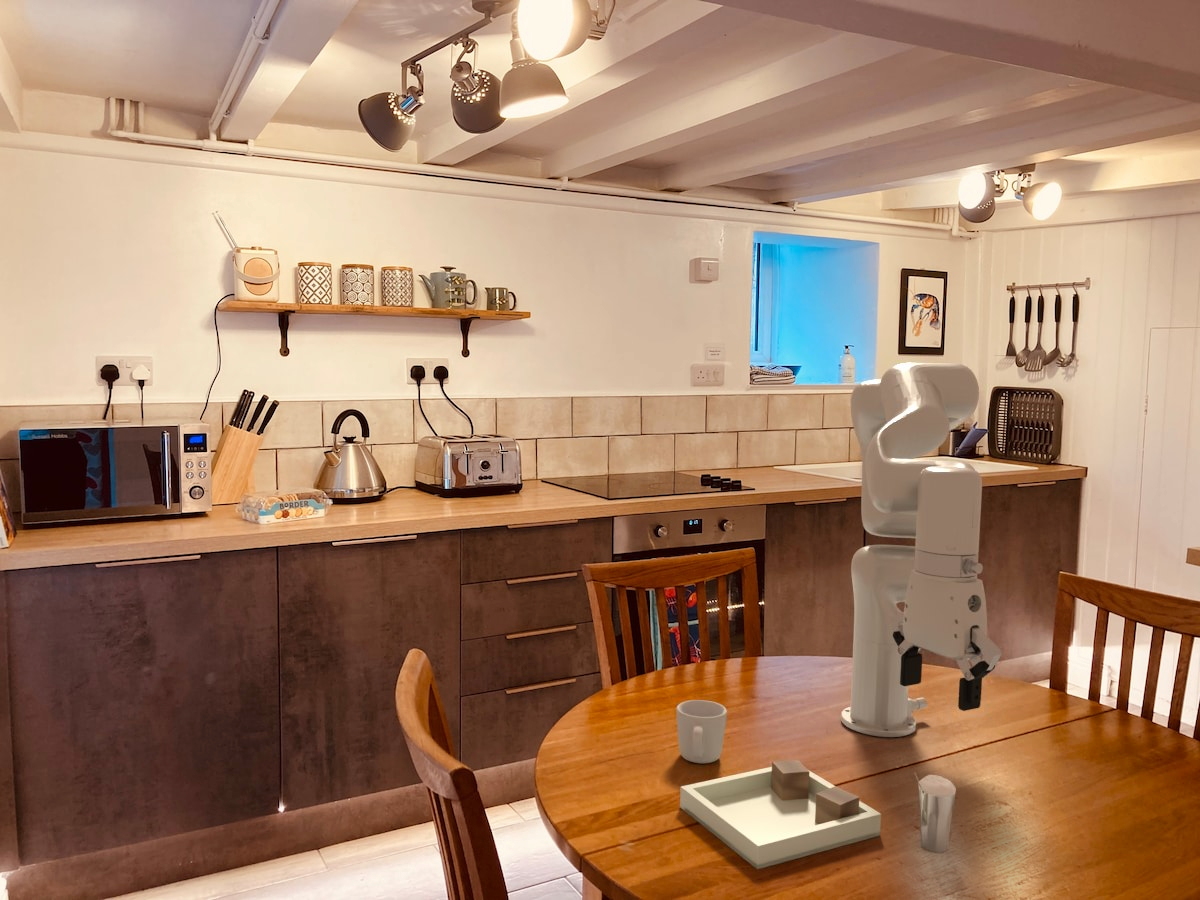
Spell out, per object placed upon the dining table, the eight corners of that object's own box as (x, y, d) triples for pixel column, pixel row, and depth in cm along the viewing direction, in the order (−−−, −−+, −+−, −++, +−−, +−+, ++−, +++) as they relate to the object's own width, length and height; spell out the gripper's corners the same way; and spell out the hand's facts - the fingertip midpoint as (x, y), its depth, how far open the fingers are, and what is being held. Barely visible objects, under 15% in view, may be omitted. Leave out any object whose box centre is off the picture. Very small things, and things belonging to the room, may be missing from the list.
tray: (793, 781, 141) (794, 761, 140) (880, 835, 125) (881, 813, 125) (680, 807, 132) (680, 786, 131) (757, 869, 116) (758, 846, 115)
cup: (722, 778, 141) (724, 726, 141) (669, 772, 143) (671, 721, 142) (727, 750, 152) (728, 701, 151) (678, 745, 153) (679, 697, 153)
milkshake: (903, 838, 124) (907, 765, 123) (942, 837, 125) (946, 764, 124) (918, 856, 120) (922, 780, 119) (958, 855, 120) (962, 779, 119)
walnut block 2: (834, 814, 129) (835, 786, 129) (858, 825, 126) (859, 797, 126) (815, 822, 127) (816, 793, 126) (838, 834, 124) (840, 805, 123)
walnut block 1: (796, 786, 138) (797, 759, 137) (808, 798, 134) (809, 771, 133) (771, 788, 137) (772, 761, 136) (781, 800, 133) (783, 773, 133)
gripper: (1024, 575, 113) (1016, 714, 114) (916, 550, 128) (910, 672, 130) (980, 581, 109) (972, 723, 111) (874, 554, 125) (868, 679, 126)
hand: (938, 696), depth 120 cm, fingers open, 9 cm apart
